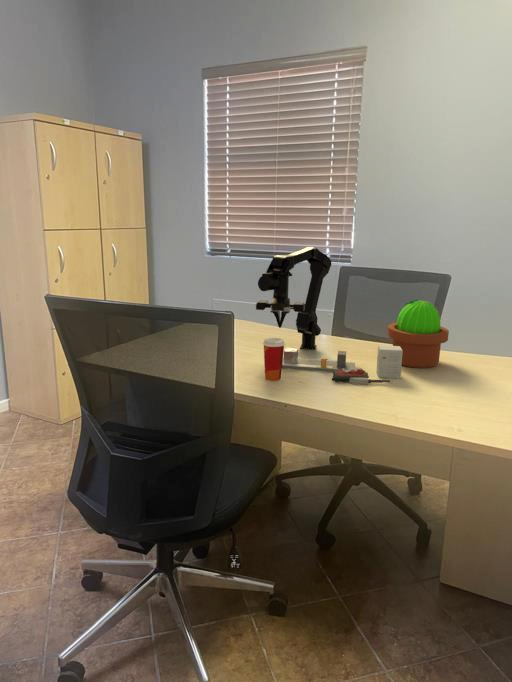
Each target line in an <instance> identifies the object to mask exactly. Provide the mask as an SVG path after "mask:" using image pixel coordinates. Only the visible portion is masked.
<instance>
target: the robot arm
mask: <svg viewBox="0 0 512 682" xmlns="http://www.w3.org/2000/svg"><path fill="white" fill-rule="evenodd" d="M305 261H306V262H307V263H308V264H309V270H310V274H311V278H310V282H309V287H308V290H307V293H306V294H307V295H306V299H305V302H302V301H301V302H297V301H294V303H293V304H292V303H291V299H290V298H289V281H290V279H289V277H292V276H293V273H292V272H291V270H293V269H294V267H295V266H296V265H298V264H300V263H302V262H305ZM331 267H332V260H331V258H330V257H329V256H327V254H325V253H323V252H322V251H320V250H319V249H318V248H317V247H315V246H314V247H313V246H307V247H305V248H303V249H300V250H298V251H294V252H292V253H289V254H278V255H277V254H276V255H274V256H273V257H272V260H271V261H270V263H269V265H268V267H267V269H266V271H265V272H262V273H261V276H260V277H259V278H258V281H257V286H258V289H259V291H262V292H269V291H273V293H272V294H273V295H272V298H271V302H269V300H258V301H257V302H256V303H255V310H258V311H264V310H266V309H267V308H268V309H270V313H272V314H273V316H274V317H275V321H276V323H277V326H278V328H279V329H281V328H282V327H283V323H284V321H285V318H286V316H287V314H289V313H290V312H291V310H293V311H294V312H295V313H297V316H296V319H295V326H296V331H297V333H298V334H301V344H300V347H299V349H300V350H315V351H316V348H317V344H316V338H317V336H319V335H321V332H322V329H321V327H320V325H319V324H318V316H317V312H316V311H317V306H318V302H319V298H320V294H321V291H322V290H321V289H322V286H323V281H324V278H325V277H326V276H327V275H328V274H329V272H330V270H331Z"/></svg>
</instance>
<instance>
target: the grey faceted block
mask: <svg viewBox="0 0 512 682" xmlns="http://www.w3.org/2000/svg"><path fill="white" fill-rule="evenodd" d="M283 358H284V363H295V364H296V363H297V361H298V359H299V348H294V347H293V348H292V347H285V348H284V351H283Z"/></svg>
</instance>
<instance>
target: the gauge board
mask: <svg viewBox="0 0 512 682" xmlns="http://www.w3.org/2000/svg"><path fill="white" fill-rule="evenodd" d="M349 368H356V362H350V361H347V351H345V350H343V351H342V350H338V351H337V360H336V361H334V360H327V366H326V367H321V359H308V358H307V359H306V358H298V361H297V363H296V364H295V363H284V357H283V363H282V370H284V369H285V370H296V371H298V370H299V371H310V372H311V371H313V372H324V373H326V372H327V373H333V370H342V369H345V370H348V369H349Z"/></svg>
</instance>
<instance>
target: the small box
mask: <svg viewBox="0 0 512 682" xmlns="http://www.w3.org/2000/svg"><path fill="white" fill-rule="evenodd" d="M402 353H403V350H402V349H401V347H400V346H393V345H378V346H377V358H376V375H377V377H378V378H383V379H386V378H387V379H401V376H402V366H403V365H402Z"/></svg>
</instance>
